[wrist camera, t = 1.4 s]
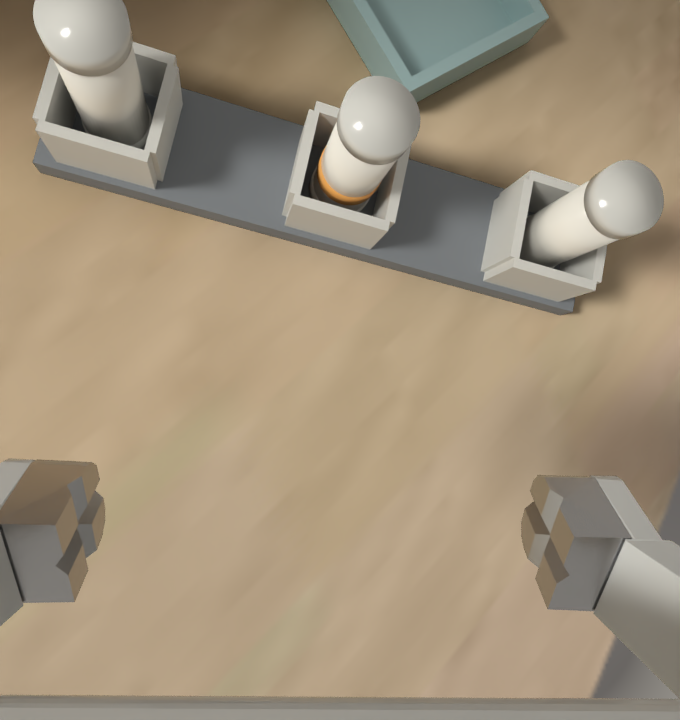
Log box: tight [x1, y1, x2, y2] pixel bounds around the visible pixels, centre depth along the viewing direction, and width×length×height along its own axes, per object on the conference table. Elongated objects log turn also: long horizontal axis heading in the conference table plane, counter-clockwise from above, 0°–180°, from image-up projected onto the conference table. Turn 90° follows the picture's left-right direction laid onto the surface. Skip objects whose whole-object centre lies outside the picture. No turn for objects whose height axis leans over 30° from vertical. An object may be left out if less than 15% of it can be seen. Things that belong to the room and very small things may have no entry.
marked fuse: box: [309, 76, 420, 212], centre depth 32 cm, size 4×4×10 cm
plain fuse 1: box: [33, 0, 152, 150], centre depth 30 cm, size 4×4×10 cm
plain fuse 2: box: [519, 160, 664, 268], centre depth 35 cm, size 4×4×10 cm
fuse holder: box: [32, 42, 607, 315], centre depth 36 cm, size 7×35×6 cm, turn 78°
